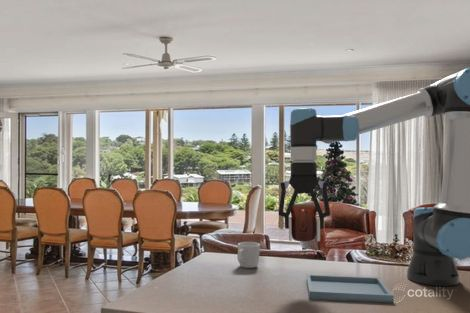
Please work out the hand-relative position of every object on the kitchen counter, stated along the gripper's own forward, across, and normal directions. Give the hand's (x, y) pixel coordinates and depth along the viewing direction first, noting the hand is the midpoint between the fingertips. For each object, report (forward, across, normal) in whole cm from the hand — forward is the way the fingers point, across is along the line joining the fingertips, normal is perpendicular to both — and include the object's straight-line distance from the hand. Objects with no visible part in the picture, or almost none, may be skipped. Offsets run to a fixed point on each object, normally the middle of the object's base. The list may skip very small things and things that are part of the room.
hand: (304, 240), depth 129 cm
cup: (+14, +19, -23) cm, 33 cm away
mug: (0, 0, 0) cm, 0 cm away
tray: (+15, -12, 0) cm, 19 cm away
